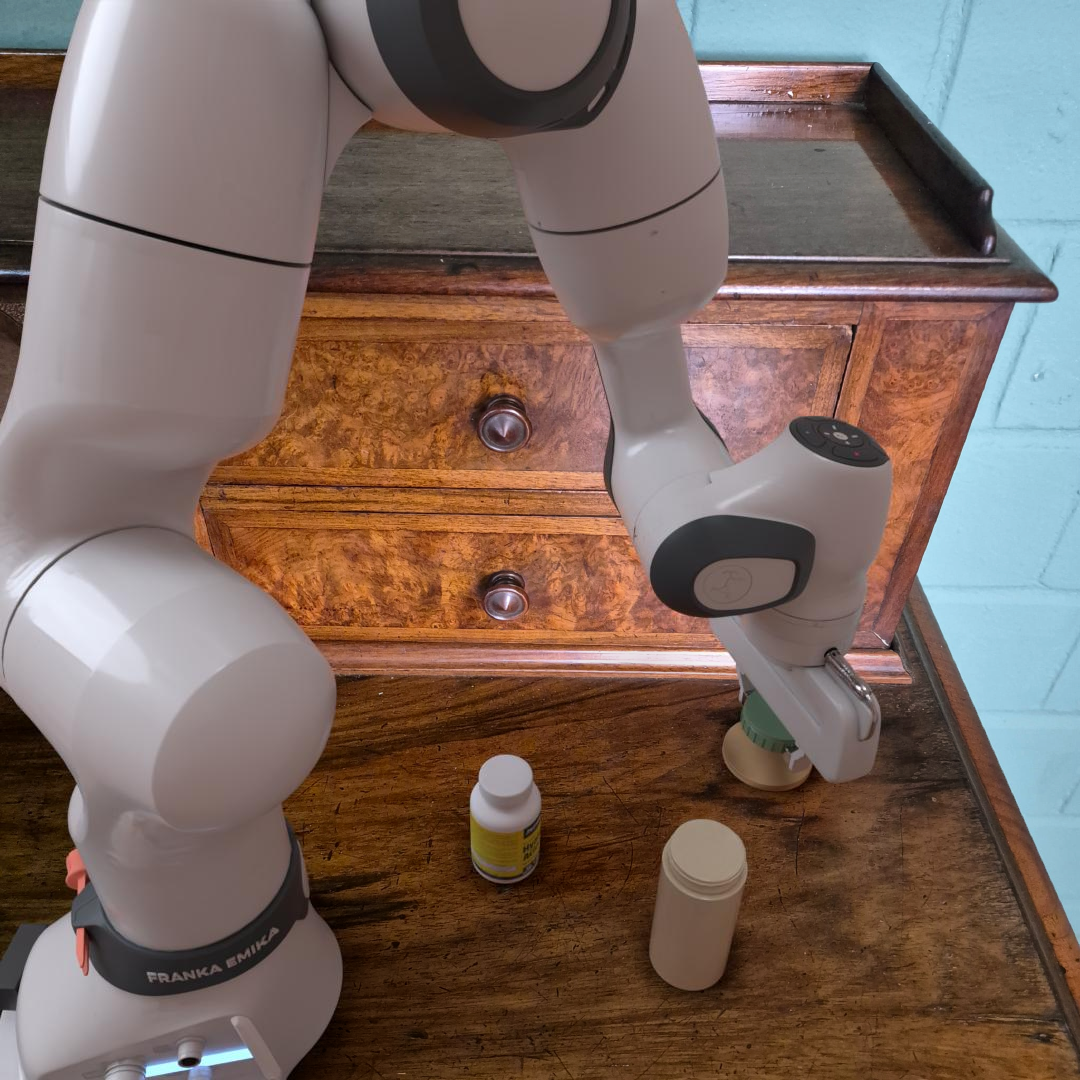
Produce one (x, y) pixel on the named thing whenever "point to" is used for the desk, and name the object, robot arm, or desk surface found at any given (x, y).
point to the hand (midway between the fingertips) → (772, 733)
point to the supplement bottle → (505, 820)
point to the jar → (697, 904)
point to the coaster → (758, 763)
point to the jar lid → (764, 725)
